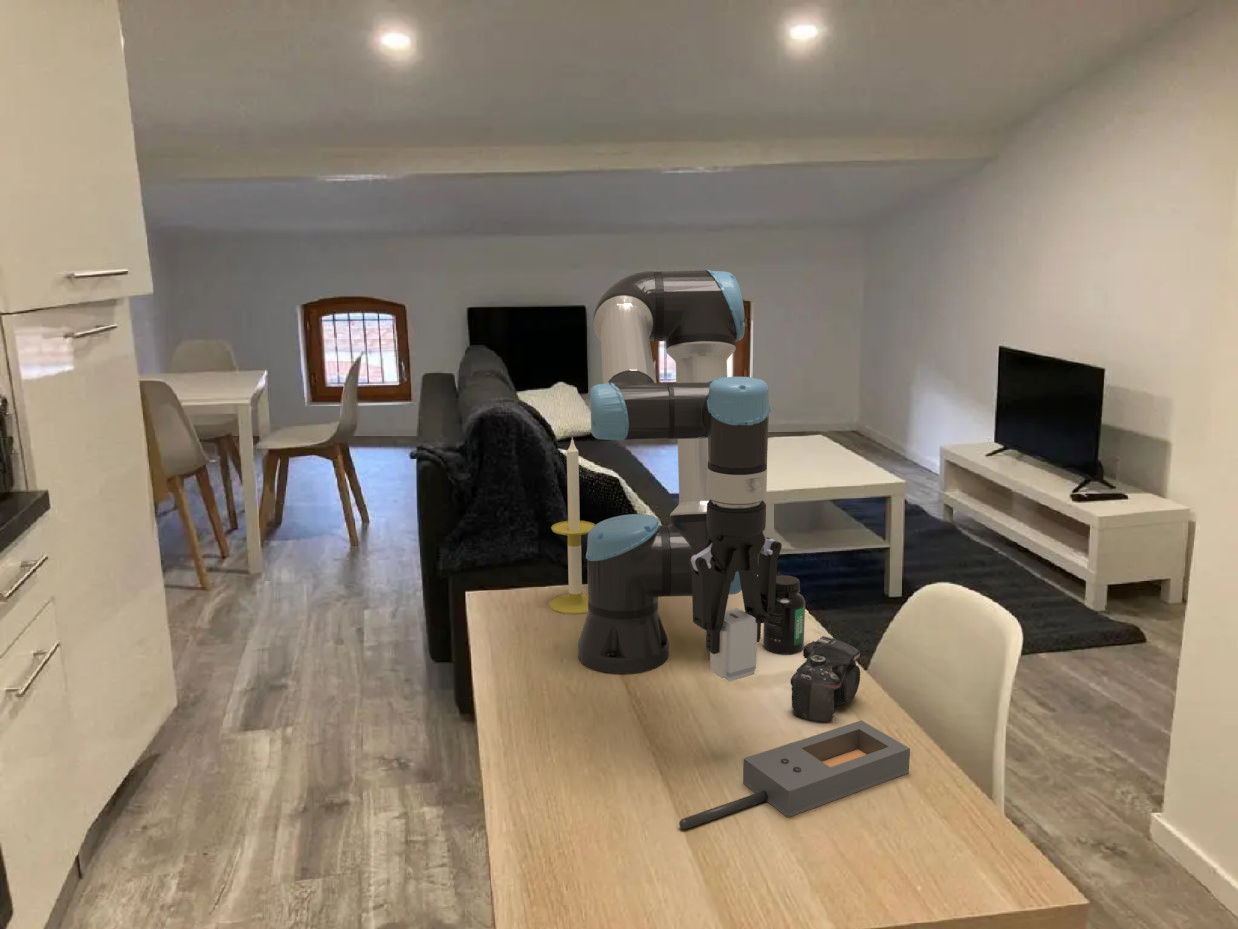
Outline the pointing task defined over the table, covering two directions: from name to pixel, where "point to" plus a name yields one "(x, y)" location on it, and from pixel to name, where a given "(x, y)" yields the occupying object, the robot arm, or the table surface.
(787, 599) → the supplement bottle
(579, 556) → the candle
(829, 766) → the power strip
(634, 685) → the table surface
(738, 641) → the block
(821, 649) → the camera
